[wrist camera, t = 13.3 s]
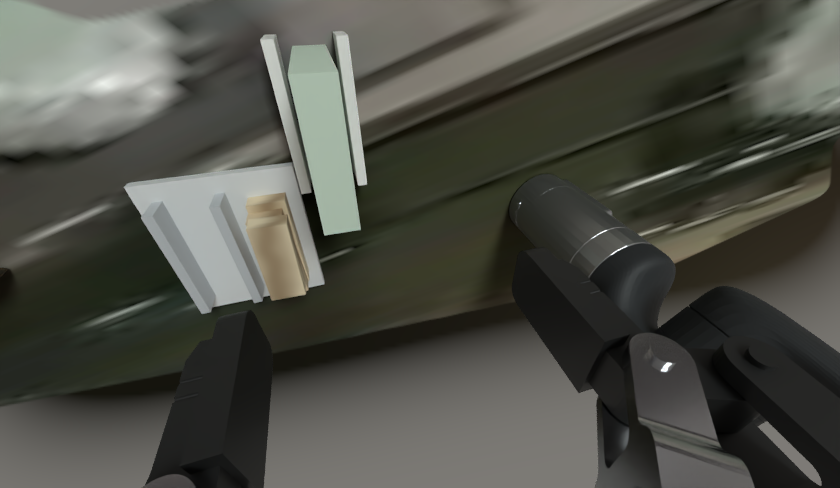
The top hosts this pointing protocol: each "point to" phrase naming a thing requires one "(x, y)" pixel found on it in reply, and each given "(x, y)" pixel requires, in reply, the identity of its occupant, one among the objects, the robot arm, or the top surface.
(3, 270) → the hand tool
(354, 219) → the sage board
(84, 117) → the top surface
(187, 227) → the grey rack
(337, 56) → the white stand
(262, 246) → the offcut stack
